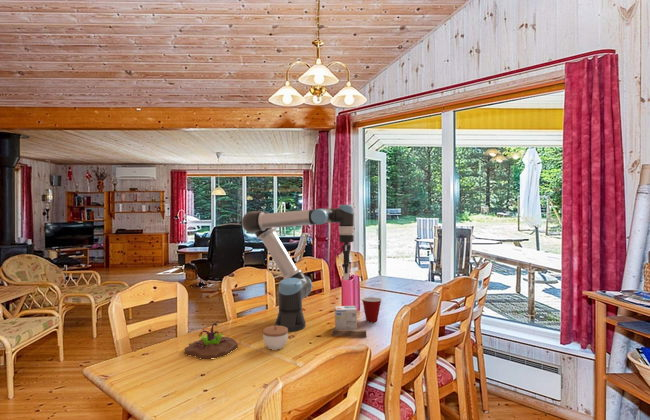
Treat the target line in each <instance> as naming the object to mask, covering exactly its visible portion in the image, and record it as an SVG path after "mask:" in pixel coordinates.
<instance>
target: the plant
mask: <svg viewBox="0 0 650 420" xmlns="http://www.w3.org/2000/svg"><path fill="white" fill-rule="evenodd" d="M218 326H219V323H218V322H213V324H212V325H211V327H210V331H208V330H202V331H201V332H199V333H198V336H199V339H200V340H197V341H193V342H192V343H188V346H185V347H184V355H186V354H187V355H186V356H188V355H191V356H190V357H193V356H196V357H199V358H201V359H211V358H217V357H219V356H222V357H224V356H223V355H226V356H228V355H229V354H228V353H230V352H231V351H233V350H234V351H236V350H237V349H238V348H239V343H238V342H237V341H236V340H235V339H234V338H231V337H228V336H224V333H220V332H219V331H214V327H218ZM203 333H206V334H204V336H203ZM236 348H237V349H236ZM235 349H236V350H235ZM234 351H233V352H234ZM231 353H232V352H231ZM231 353H230V354H231ZM227 354H228V355H227ZM196 357H195V358H196ZM199 358H198V359H199ZM219 358H220V357H219ZM201 359H200V360H201ZM217 359H218V358H217ZM211 360H212V359H211Z"/></svg>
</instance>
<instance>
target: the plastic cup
mask: <svg viewBox="0 0 650 420" xmlns="http://www.w3.org/2000/svg"><path fill="white" fill-rule="evenodd" d="M382 300H383V298H381V297H376V296H368V297H367V296H366V297H361V301H362V305H363V311H364V315H365V321H366V322H367V323H377V322H378V319H379V315H380V310H381V309H380V308H381V307H380V306H381V303H382Z"/></svg>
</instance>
